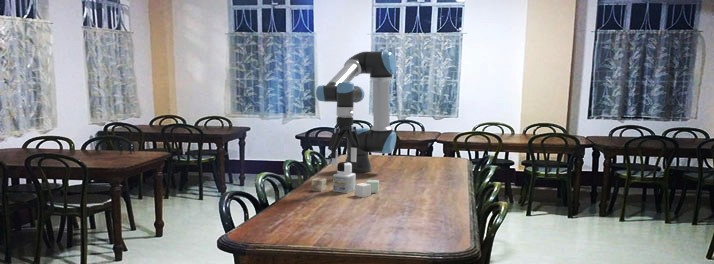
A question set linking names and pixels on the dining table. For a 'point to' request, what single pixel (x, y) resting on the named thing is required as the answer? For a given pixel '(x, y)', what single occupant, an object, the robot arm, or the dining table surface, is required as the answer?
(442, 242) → the dining table surface
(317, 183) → the beech cube
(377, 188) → the sage cube
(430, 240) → the dining table surface
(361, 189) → the cream cube
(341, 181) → the container
